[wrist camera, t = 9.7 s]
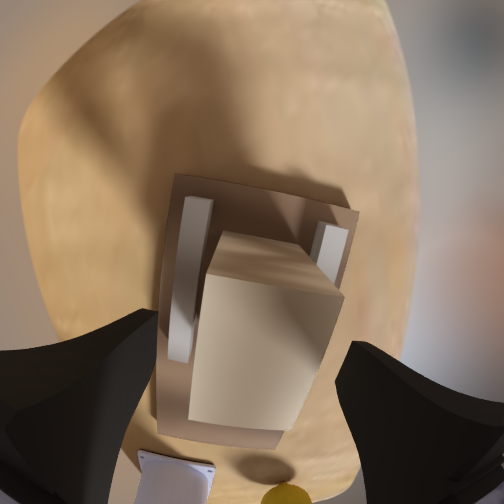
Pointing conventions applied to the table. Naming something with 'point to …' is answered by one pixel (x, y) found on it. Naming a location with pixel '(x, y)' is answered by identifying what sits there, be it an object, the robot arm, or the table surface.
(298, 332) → the block
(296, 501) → the lemon
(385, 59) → the table surface
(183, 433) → the board
